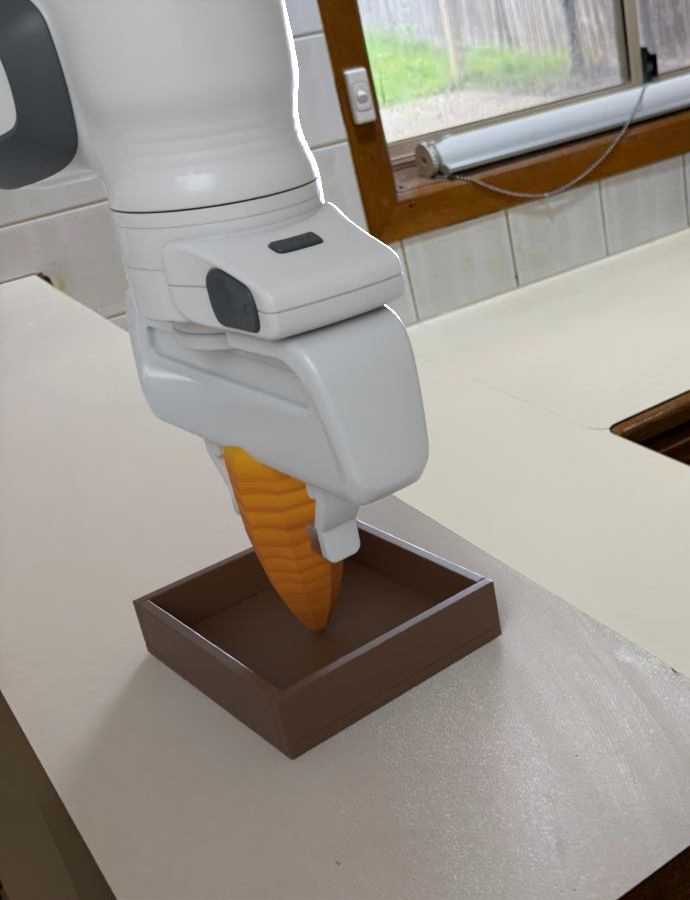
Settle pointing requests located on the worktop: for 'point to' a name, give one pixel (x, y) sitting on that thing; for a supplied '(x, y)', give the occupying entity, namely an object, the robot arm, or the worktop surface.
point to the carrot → (284, 537)
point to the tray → (318, 637)
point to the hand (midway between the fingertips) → (296, 533)
